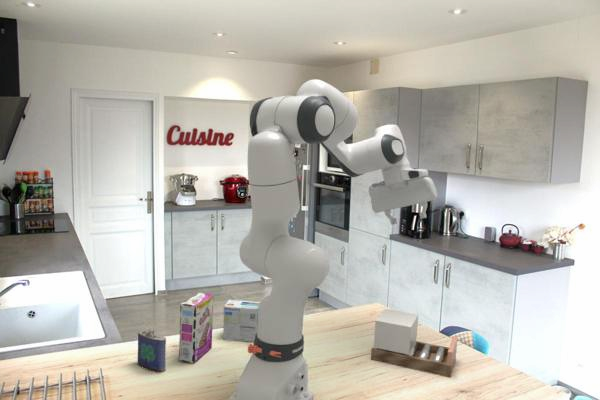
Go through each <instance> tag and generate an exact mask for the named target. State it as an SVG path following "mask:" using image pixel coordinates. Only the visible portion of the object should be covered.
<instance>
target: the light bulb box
mask: <svg viewBox="0 0 600 400" xmlns="http://www.w3.org/2000/svg"><path fill="white" fill-rule="evenodd" d="M260 302H261V301H253V300H251V301H250V300H249V301H248V300H234V299H228V300H227V302H226V303H225V305H224V306H223V329H222V330H223V334H222V339H223V340H226V341H227V340H228V341H238V342H239V341H240V342H249V343H250V342H251V343H254V339H255V335H256V333H257V319H258V305H259V303H260Z"/></svg>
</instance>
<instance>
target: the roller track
mask: <svg viewBox="0 0 600 400" xmlns="http://www.w3.org/2000/svg"><path fill="white" fill-rule="evenodd" d="M458 338H459V337H458V336H456V335H453V336H452V339H451V341H450V345H449V347H447V346H443V345H437V344H434V343H433V344H432V343H427V342H424V341H417V340H416V342H415V344H414V346H413V348H412V350H411V352H410V354H409V355H408V354H403V353H398V352H393V351H389V350H384V349H379V348H375V347H372V348H371V353H370V360H371V361H376V362H379V363H384V364H389V365H394V366H398V367H402V368H403V367H404V368H407V369H411V370H416V371H420V372H425V373H430V374H433V375H438V376H443V377H447V378H451V377H452V374H453V369H454V366H455V363H456V360H457V359H456V358H457V347H458V346H457V345H458Z"/></svg>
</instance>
